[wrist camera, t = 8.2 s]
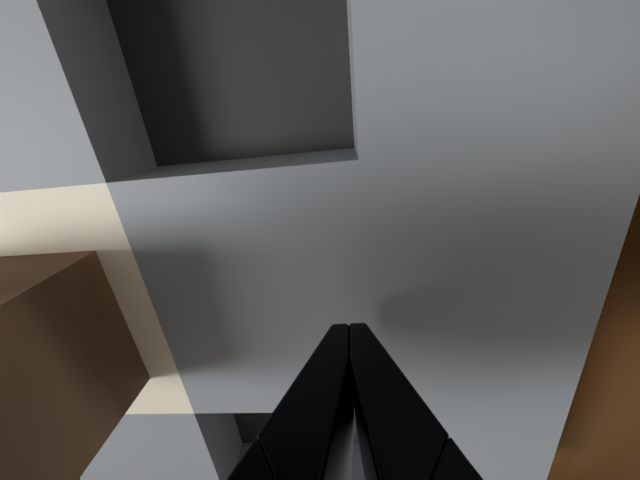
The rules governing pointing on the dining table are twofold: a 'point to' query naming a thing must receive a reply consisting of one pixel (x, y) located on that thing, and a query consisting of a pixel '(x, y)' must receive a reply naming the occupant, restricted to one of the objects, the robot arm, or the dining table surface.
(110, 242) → the trap deck
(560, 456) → the dining table surface
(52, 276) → the walnut block
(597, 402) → the dining table surface
